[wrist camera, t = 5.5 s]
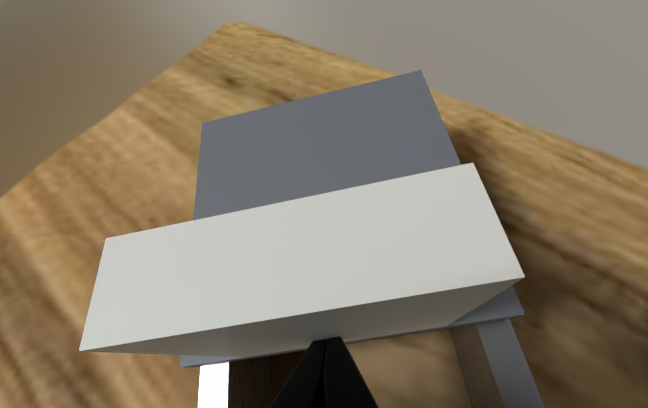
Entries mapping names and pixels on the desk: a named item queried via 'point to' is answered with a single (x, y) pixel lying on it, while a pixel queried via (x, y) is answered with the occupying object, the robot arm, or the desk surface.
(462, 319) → the sliding lid
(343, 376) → the robot arm
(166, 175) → the desk surface
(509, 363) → the metal rails
